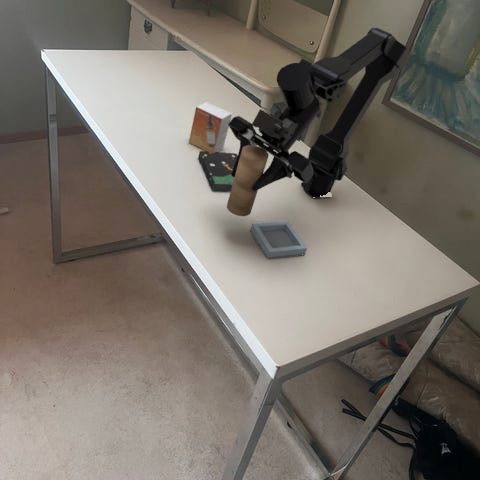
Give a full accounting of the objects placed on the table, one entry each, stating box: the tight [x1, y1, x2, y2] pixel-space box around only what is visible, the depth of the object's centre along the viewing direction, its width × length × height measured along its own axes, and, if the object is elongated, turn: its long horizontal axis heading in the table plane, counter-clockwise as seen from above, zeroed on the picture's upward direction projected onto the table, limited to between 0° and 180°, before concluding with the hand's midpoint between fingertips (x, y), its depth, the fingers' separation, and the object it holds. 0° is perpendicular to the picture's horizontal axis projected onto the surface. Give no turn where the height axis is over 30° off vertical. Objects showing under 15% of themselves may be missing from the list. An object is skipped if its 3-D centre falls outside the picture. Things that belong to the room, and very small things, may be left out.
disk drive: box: [197, 150, 238, 193], centre depth 113 cm, size 10×3×15 cm
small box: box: [188, 101, 233, 154], centre depth 120 cm, size 8×6×10 cm
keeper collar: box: [249, 220, 308, 260], centre depth 97 cm, size 9×9×2 cm
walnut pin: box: [226, 145, 270, 217], centre depth 88 cm, size 5×5×13 cm
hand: (242, 183), depth 87 cm, fingers closed on walnut pin, 5 cm apart
